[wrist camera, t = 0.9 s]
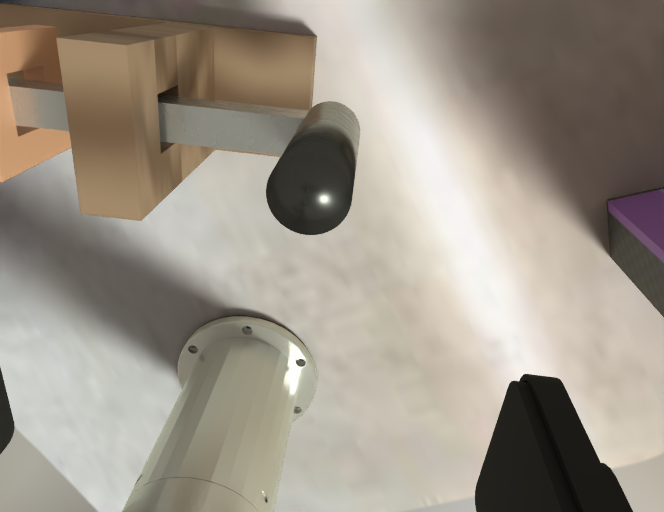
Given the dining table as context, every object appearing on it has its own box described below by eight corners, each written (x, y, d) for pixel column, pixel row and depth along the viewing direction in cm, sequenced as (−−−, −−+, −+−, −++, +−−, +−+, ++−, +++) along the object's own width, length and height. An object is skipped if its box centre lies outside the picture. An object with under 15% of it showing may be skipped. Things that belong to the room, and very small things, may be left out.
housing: (308, 153, 38) (272, 236, 25) (28, 122, 39) (-147, 187, 26) (316, 36, 34) (280, 61, 22) (7, 3, 35) (-209, 9, 22)
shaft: (356, 163, 29) (347, 239, 20) (-23, 120, 29) (-196, 176, 21) (363, 105, 27) (356, 158, 18) (-36, 61, 28) (-228, 93, 19)
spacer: (73, 146, 33) (2, 182, 27) (54, 144, 33) (-21, 179, 27) (56, 26, 30) (-29, 35, 24) (36, 24, 30) (-54, 32, 24)
